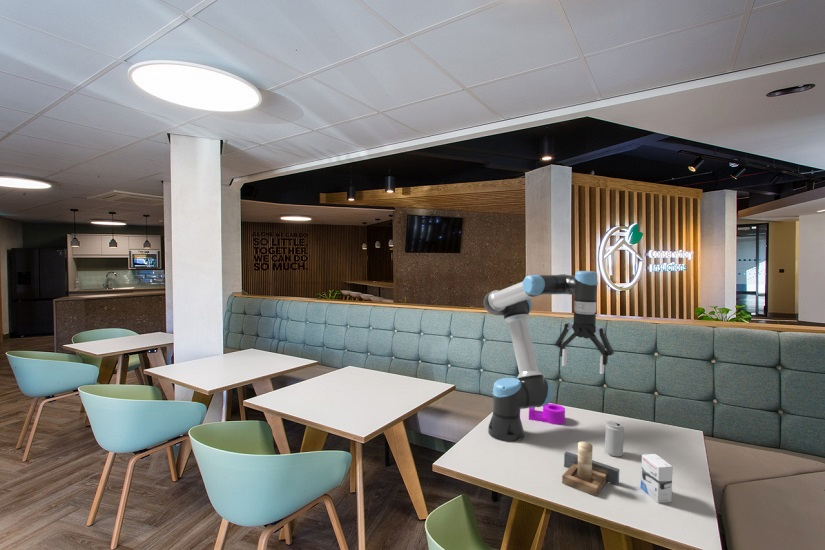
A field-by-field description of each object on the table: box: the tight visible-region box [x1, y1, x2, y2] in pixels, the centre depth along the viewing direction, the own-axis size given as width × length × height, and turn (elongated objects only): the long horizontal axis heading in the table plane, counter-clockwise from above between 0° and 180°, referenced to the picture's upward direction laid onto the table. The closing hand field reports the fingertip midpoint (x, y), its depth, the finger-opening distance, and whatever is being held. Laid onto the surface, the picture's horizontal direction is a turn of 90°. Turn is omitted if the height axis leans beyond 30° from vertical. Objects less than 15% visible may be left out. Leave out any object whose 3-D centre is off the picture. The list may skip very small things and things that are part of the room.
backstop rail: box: [563, 451, 620, 487], centre depth 139 cm, size 18×2×5 cm, turn 49°
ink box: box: [640, 453, 674, 504], centre depth 127 cm, size 8×5×12 cm, turn 5°
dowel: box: [577, 441, 594, 483], centre depth 134 cm, size 4×4×12 cm
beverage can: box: [604, 420, 625, 458], centre depth 154 cm, size 6×6×12 cm
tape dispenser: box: [528, 403, 566, 426], centre depth 187 cm, size 16×10×6 cm, turn 68°
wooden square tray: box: [561, 463, 607, 497], centre depth 134 cm, size 11×11×2 cm
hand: (582, 369), depth 146 cm, fingers open, 13 cm apart
